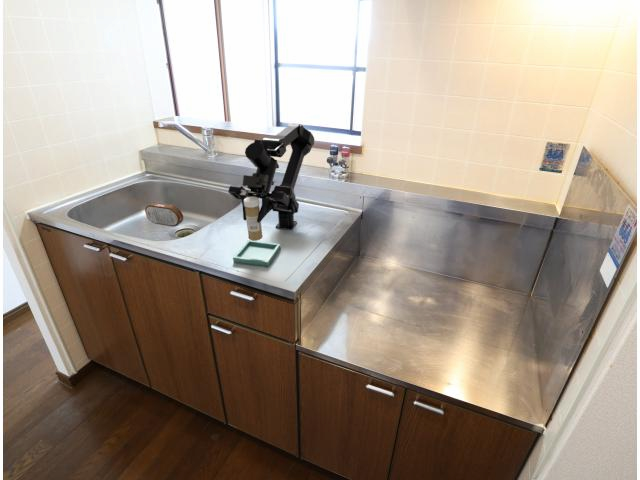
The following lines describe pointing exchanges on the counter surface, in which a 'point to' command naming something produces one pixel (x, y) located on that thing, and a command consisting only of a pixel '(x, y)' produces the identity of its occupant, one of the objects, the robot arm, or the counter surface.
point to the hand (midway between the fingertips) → (251, 221)
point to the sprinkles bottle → (253, 218)
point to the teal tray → (257, 253)
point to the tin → (164, 214)
